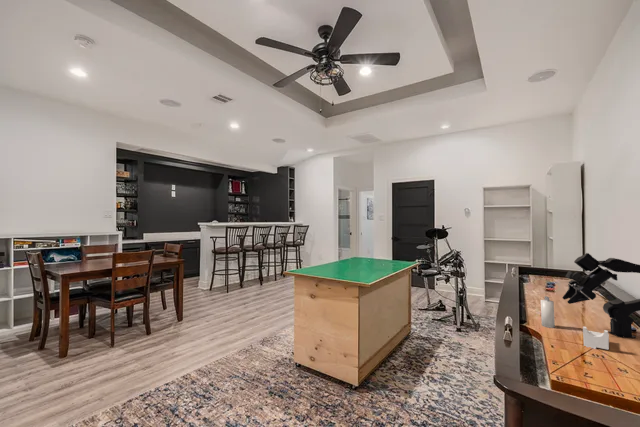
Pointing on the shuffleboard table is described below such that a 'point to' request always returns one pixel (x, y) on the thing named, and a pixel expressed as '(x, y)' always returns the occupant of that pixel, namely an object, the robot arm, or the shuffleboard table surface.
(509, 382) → the shuffleboard table surface
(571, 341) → the shuffleboard table surface
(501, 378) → the shuffleboard table surface
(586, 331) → the bracket
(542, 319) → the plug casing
